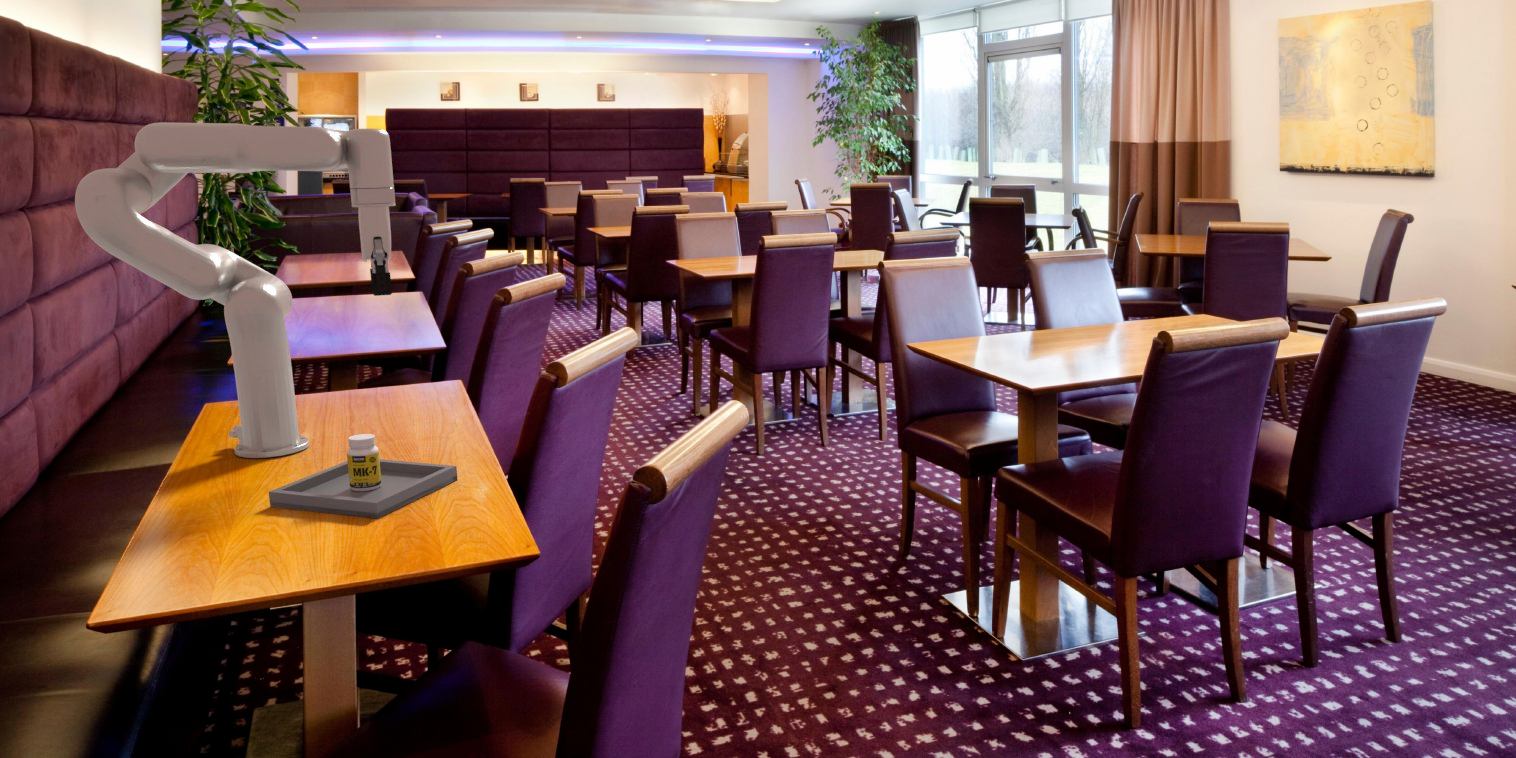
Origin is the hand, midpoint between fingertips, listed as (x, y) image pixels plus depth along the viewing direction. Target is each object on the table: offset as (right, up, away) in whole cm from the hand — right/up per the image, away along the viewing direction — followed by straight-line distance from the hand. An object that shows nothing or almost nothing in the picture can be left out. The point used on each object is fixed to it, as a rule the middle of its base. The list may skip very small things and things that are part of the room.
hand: (381, 292), depth 195 cm
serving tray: (+7, -34, -27) cm, 44 cm away
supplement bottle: (+7, -34, -27) cm, 43 cm away
